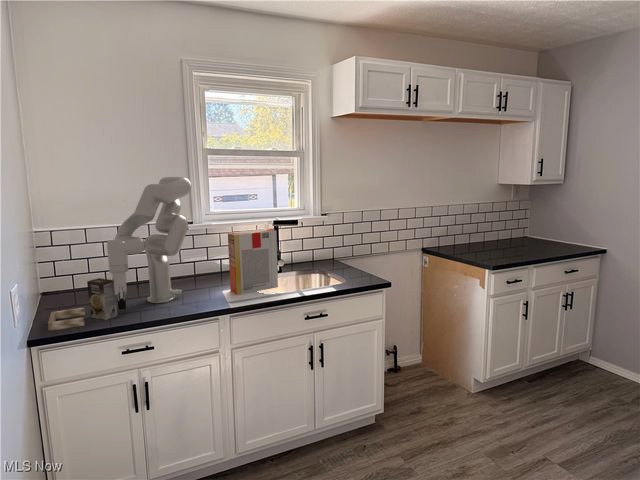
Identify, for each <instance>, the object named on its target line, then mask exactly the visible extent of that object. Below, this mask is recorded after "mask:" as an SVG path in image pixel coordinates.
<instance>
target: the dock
mask: <svg viewBox="0 0 640 480" xmlns="http://www.w3.org/2000/svg"><path fill="white" fill-rule="evenodd" d="M85 315H86V310H85V307H79V308H71V309H63V310H58V311H57V310H56V311H51V312H50V316H49V317H48V318H49V319H48V322H47V327H48V332H50V331H51V332H52V331H57V330H58V331H59V330H64V329H71V328H76V327H82V326H83V327H84V326H85V318H84V316H85ZM80 316H81V317H80ZM82 316H83V317H82ZM73 317H76V318H73ZM77 317H78V318H77ZM66 318H67V319H66ZM68 318H71V319H68ZM59 319H63V320H59ZM56 320H57V321H56Z"/></svg>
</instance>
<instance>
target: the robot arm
mask: <svg viewBox="0 0 640 480" xmlns="http://www.w3.org/2000/svg"><path fill="white" fill-rule="evenodd" d="M191 190H192V183H191V181H190V180H189V179H188V178H187V177H184V176H183V177H182V176H165V177H161V178H160V180H159V181H158V183H150V184H147V185H146V186H144V188H143V191H142V194H141V195H140V198H139V200H138V202H137V205H136V207H135V209H134V212H133V213H131V215H129V217H127V219H125V220H124V221H123V223H121V225H120V226H119V228H118V229H117V233H116V235H115V238H114V239H110V240H108V241H107V242H106V247H107V248H106V250H107V251H106V252H107V259H108V270H109V271H108V272H109V274H111V278H112V279H111V280H113V290H114V296H116V297H117V299H116V303H117V311H118V310H119V311H122V310H126V309H127V303H126V302H127V301H126V297H125V296H126V295H127V275H126V273H127V272H129V261H128V260H129V259H128V256H129V255H138V254H141V253H143V252H145V254H146V259H147V268H148V281H149V293H150V295H149V296H148V297H147V298H146V299H147V302H149V303H150V304H151V303H152V304H163V303H164V304H165V303H168V302H171V301H173V300H175V298H176V295H181V294H182V289H178V288H176V289H173V288H172V283H171V282H172V281H171V270H170V260H169V258H168V257H174V256H177V254H179V252H180V251H181V249H182V245H183V243H184V240H185V237H186V235H187V232H188V229H189V222H188V220H187V218H186V217H185V216H184V215H182V214H180V212H181V210H182V209H181V208H182V204H181V200H180V199H181V198H183V197H186V196H187V195H189V193H190V192H191ZM160 204H162V205H161V208H160V211H159V214H158V215H157V218H156V220H155V225H154V228H155V230H156V231H157V232H158V233H159V234H157V233H156V234H155V233H154V234H149V235H148V236H147V237H146V238H145V240H144V239H143V238H142V237H139V236H133V235H134V232H136V230H137V229H140V227H142V226H144V225H147V224H149V223H151V222H152V221H153V220H154V218H155V215H156V214H157V210H158V208H159V206H160Z"/></svg>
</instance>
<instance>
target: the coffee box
mask: <svg viewBox="0 0 640 480" xmlns="http://www.w3.org/2000/svg"><path fill="white" fill-rule="evenodd" d="M86 283H87V291H88V293H87V294H88V302H89V310H90V311H89V312H90V318H93V319H98V320H104V321H107V320H111V319H112V318H115V317H118V305H117V298H116V297H117V295H116V296H114V290H113V280H112V279H108V278H100V277H99V278H95V279H90V280H88V281H87V282H86Z"/></svg>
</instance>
